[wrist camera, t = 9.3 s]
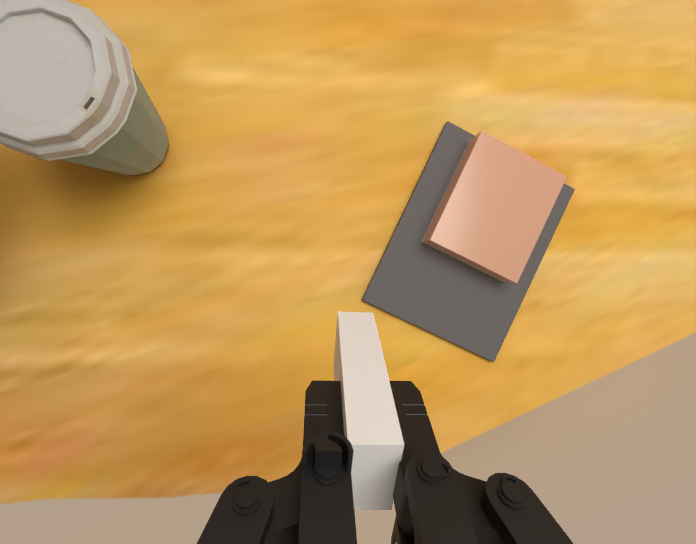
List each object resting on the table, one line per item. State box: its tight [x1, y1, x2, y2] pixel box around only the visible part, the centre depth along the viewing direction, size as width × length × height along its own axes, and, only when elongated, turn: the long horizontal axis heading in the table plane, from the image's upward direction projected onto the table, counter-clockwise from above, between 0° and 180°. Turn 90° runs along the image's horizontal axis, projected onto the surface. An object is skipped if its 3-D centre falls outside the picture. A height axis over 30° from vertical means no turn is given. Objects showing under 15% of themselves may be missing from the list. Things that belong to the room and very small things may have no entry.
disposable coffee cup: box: [0, 0, 169, 176], centre depth 31 cm, size 11×11×15 cm
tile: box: [421, 131, 567, 283], centre depth 40 cm, size 10×3×12 cm
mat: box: [362, 121, 575, 362], centre depth 41 cm, size 16×21×1 cm
